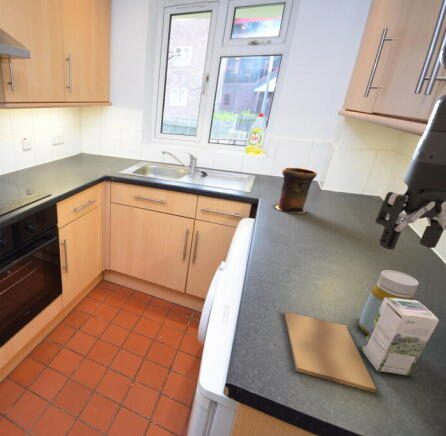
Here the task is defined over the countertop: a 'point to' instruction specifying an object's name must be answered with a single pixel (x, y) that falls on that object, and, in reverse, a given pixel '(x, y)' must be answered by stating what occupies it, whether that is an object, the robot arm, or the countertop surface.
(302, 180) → the vessel
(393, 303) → the syrup box
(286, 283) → the countertop surface
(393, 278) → the bottle
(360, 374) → the oak board
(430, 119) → the robot arm
